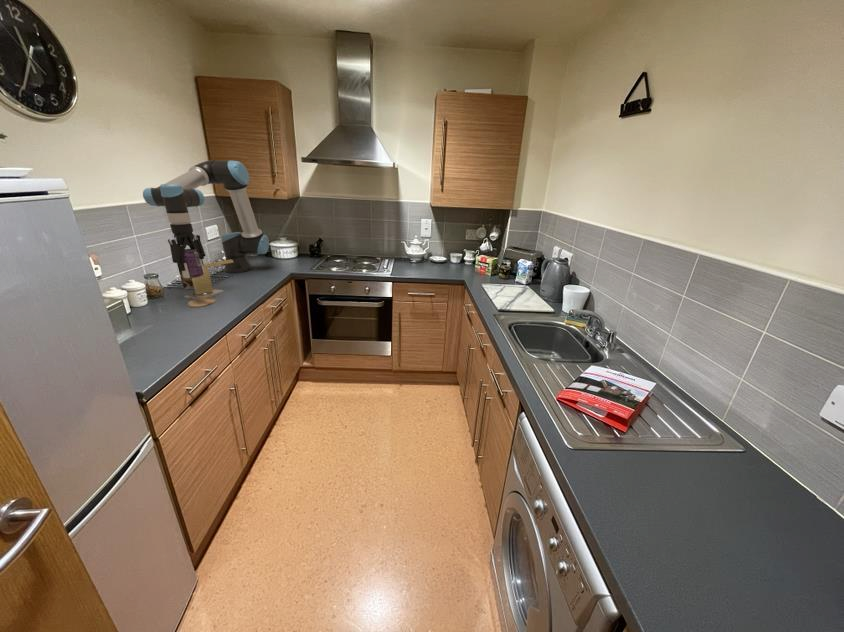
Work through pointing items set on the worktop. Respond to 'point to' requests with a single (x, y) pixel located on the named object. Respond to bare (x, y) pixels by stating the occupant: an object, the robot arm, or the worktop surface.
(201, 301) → the coaster
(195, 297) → the key plate
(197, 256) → the purple glass
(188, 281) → the coffee box
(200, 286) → the turnkey
